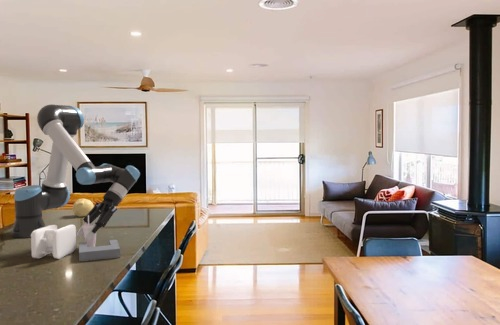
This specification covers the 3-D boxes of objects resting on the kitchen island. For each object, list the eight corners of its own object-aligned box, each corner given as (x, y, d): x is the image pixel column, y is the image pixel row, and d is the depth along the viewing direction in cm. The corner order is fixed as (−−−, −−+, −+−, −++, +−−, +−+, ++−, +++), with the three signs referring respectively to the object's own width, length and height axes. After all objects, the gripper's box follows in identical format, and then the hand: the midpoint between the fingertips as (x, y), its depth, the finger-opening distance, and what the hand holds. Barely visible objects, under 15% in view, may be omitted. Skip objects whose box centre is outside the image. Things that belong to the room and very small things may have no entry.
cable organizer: (55, 261, 159) (55, 231, 159) (30, 260, 161) (29, 230, 160) (76, 251, 174) (76, 223, 173) (53, 250, 175) (52, 223, 175)
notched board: (79, 251, 174) (78, 242, 174) (116, 247, 180) (116, 239, 180) (79, 261, 159) (78, 252, 159) (120, 257, 165) (120, 248, 165)
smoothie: (85, 245, 183) (84, 213, 183) (100, 245, 184) (99, 213, 183) (80, 249, 177) (79, 216, 176) (95, 248, 178) (95, 216, 177)
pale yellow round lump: (72, 215, 255) (72, 197, 255) (93, 213, 260) (92, 196, 260) (73, 218, 245) (72, 200, 244) (94, 216, 250) (94, 198, 249)
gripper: (133, 202, 186) (101, 245, 174) (107, 198, 197) (76, 239, 186) (122, 191, 181) (89, 235, 169) (97, 188, 193) (64, 229, 181)
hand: (82, 237), depth 177 cm, fingers closed on smoothie, 6 cm apart
